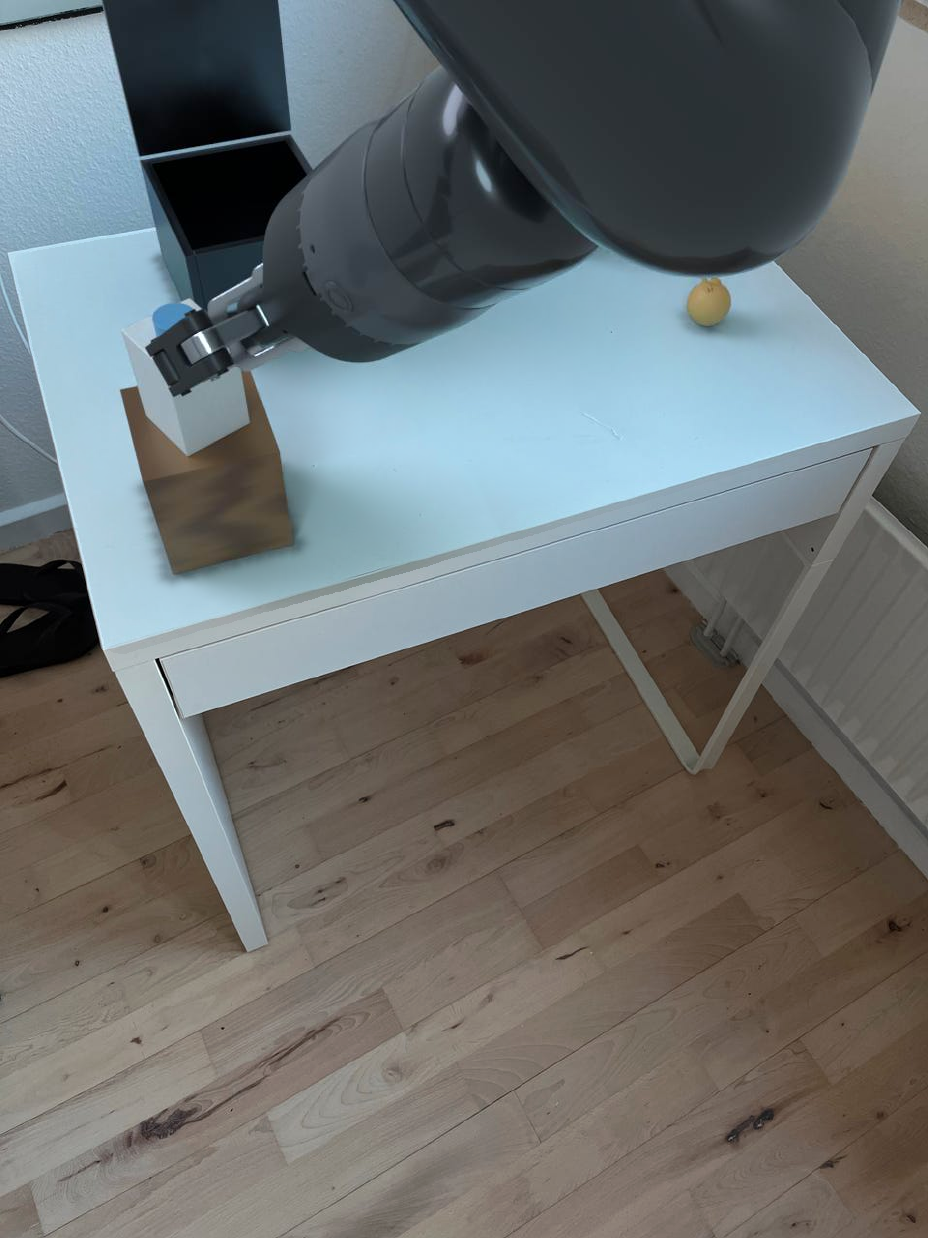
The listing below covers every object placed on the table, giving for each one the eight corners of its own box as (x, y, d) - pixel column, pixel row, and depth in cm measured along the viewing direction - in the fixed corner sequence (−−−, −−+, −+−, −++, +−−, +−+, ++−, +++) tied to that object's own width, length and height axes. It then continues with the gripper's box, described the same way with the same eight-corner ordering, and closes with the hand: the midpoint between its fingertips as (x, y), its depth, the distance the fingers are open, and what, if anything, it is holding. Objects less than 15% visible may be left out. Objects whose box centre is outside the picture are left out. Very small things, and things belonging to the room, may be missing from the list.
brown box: (173, 574, 69) (142, 481, 60) (150, 487, 73) (119, 389, 65) (293, 545, 71) (280, 451, 63) (264, 461, 75) (248, 363, 67)
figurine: (693, 350, 86) (731, 232, 76) (642, 318, 88) (673, 199, 79) (745, 312, 90) (788, 195, 80) (695, 282, 92) (731, 165, 82)
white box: (187, 457, 62) (161, 354, 55) (145, 415, 64) (115, 311, 57) (250, 423, 64) (232, 320, 57) (208, 383, 66) (185, 279, 59)
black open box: (352, 321, 86) (347, 223, 78) (205, 356, 82) (185, 257, 74) (299, 231, 93) (290, 133, 85) (162, 259, 89) (139, 159, 81)
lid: (271, -73, 72) (253, -93, 74) (89, -53, 68) (77, -75, 70) (291, 130, 84) (276, 107, 86) (139, 156, 80) (127, 132, 83)
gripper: (490, 84, 37) (328, 213, 51) (181, 209, 31) (92, 317, 45) (566, 266, 40) (391, 343, 53) (291, 415, 34) (174, 458, 47)
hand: (254, 331), depth 49 cm, fingers open, 8 cm apart
